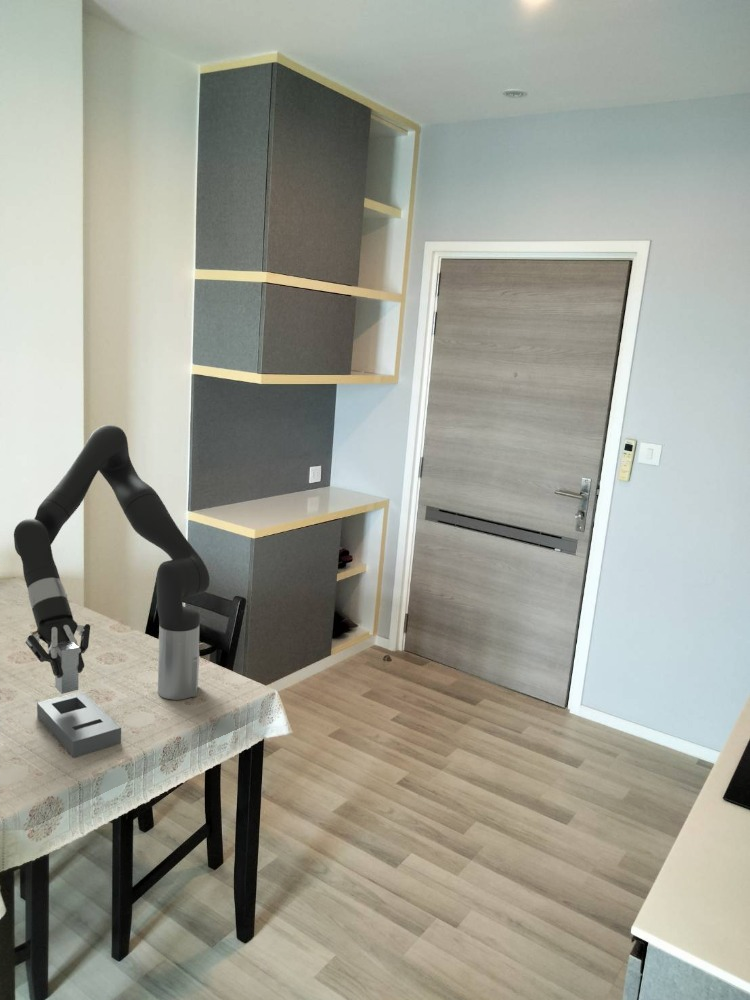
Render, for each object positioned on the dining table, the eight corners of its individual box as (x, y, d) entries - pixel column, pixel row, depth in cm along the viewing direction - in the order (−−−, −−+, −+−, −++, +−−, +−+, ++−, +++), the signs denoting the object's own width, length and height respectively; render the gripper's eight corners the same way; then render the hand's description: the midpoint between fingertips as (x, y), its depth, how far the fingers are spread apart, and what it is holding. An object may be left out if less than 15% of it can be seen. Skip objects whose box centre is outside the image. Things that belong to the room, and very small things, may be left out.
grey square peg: (55, 687, 165) (55, 644, 163) (72, 683, 167) (72, 641, 165) (61, 693, 162) (61, 650, 160) (78, 689, 165) (78, 647, 163)
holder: (37, 717, 166) (37, 702, 165) (82, 705, 173) (82, 690, 172) (73, 757, 152) (73, 741, 151) (120, 742, 159) (121, 727, 158)
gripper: (76, 604, 176) (97, 673, 170) (12, 616, 166) (31, 688, 160) (85, 590, 171) (107, 659, 165) (19, 600, 161) (40, 675, 155)
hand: (70, 673), depth 163 cm, fingers closed on grey square peg, 3 cm apart
